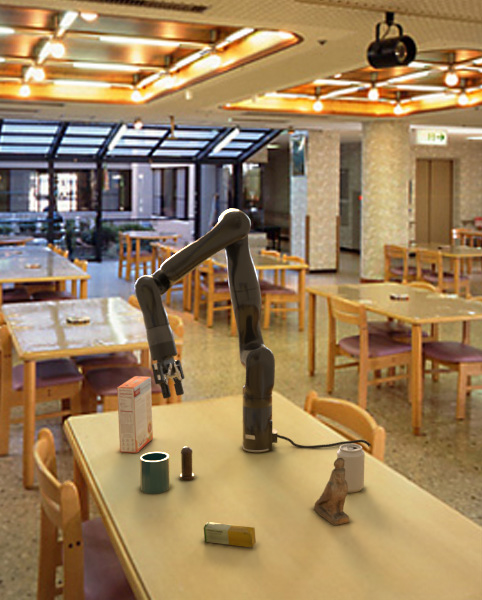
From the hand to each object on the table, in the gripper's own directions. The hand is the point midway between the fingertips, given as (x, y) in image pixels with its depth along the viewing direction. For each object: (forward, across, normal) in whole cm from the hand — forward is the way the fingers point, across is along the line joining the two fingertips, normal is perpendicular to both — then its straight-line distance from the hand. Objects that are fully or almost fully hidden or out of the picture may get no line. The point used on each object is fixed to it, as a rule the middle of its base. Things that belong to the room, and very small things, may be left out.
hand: (174, 396), depth 231 cm
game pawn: (+23, -6, -1) cm, 24 cm away
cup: (+23, -15, +4) cm, 28 cm away
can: (+37, 0, -45) cm, 58 cm away
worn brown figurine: (+39, -18, -44) cm, 61 cm away
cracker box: (+12, +15, +24) cm, 31 cm away
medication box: (+37, -40, -25) cm, 60 cm away
